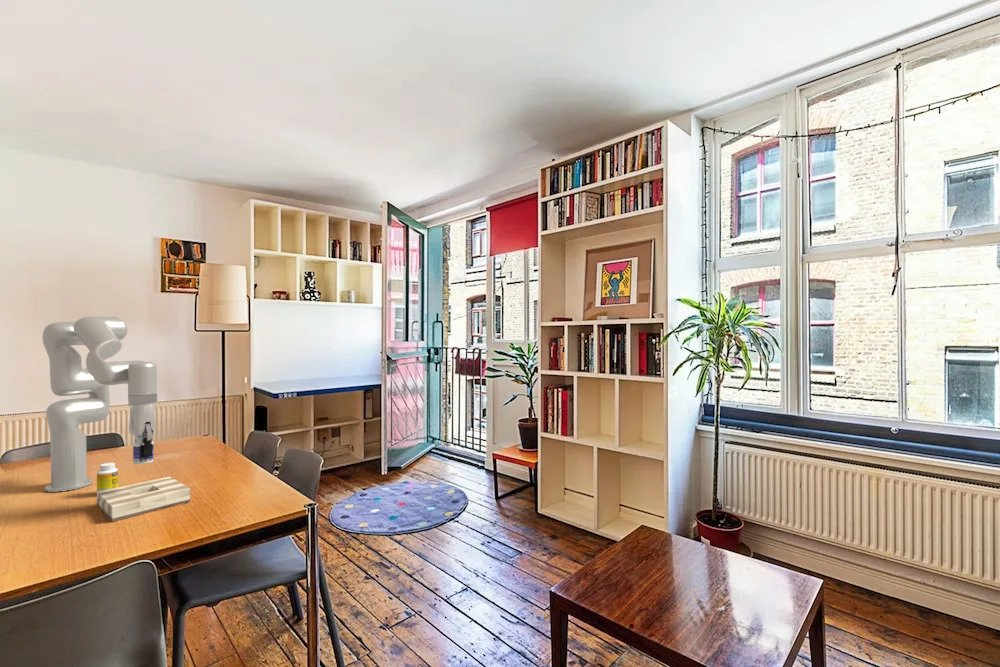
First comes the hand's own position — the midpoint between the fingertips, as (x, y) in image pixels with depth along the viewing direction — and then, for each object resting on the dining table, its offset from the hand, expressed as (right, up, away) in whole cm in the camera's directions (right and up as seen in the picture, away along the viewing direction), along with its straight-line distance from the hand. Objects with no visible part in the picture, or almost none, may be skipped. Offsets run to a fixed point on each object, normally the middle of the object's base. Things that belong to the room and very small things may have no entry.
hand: (143, 454), depth 150 cm
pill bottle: (0, -3, 0) cm, 3 cm away
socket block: (0, -16, 0) cm, 16 cm away
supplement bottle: (-20, -16, +10) cm, 28 cm away
